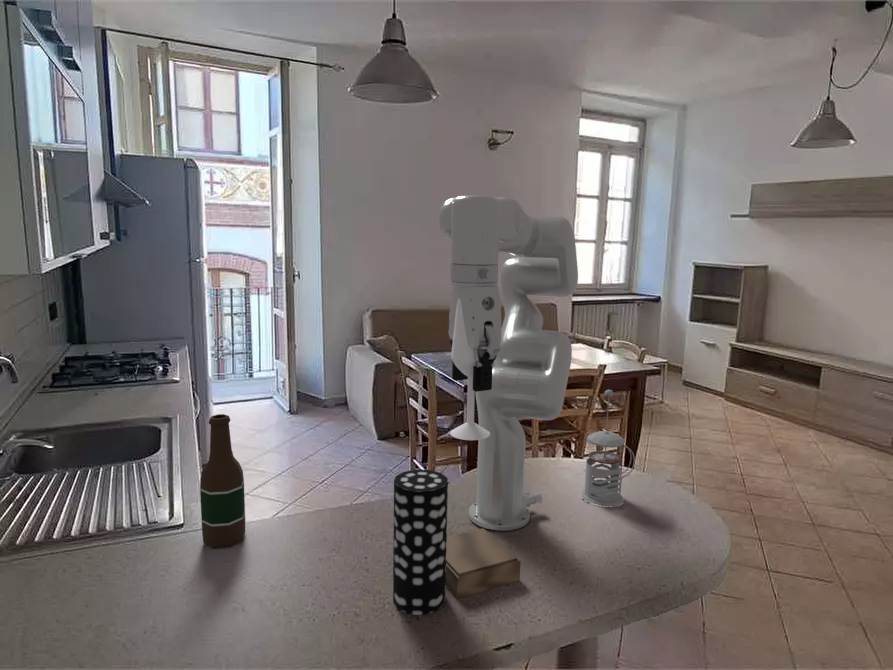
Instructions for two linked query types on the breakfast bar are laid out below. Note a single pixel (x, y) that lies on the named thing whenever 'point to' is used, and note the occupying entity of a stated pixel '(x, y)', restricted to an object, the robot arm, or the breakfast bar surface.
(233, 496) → the beer bottle
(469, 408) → the champagne flute
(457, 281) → the robot arm
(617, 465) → the french press
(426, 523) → the spotted tube
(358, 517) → the breakfast bar surface
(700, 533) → the breakfast bar surface
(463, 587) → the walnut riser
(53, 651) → the breakfast bar surface
